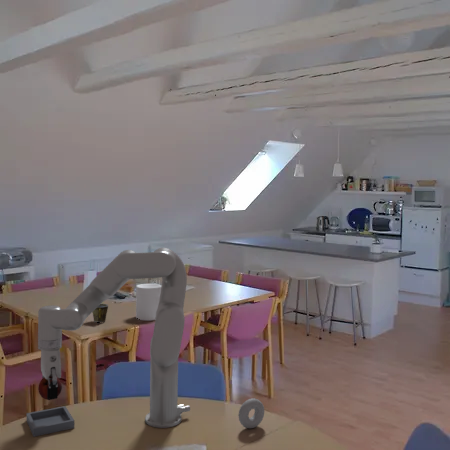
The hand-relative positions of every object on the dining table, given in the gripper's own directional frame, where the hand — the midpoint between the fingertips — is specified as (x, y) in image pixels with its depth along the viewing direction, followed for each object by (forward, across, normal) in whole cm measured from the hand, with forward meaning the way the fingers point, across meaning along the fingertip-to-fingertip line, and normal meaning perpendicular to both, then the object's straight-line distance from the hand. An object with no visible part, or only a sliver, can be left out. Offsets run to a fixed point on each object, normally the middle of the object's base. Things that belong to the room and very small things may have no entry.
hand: (49, 394), depth 172 cm
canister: (+10, +123, -85) cm, 150 cm away
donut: (+10, -34, -59) cm, 69 cm away
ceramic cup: (+11, +124, -54) cm, 136 cm away
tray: (+10, 0, 0) cm, 10 cm away
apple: (+2, 0, 0) cm, 2 cm away
